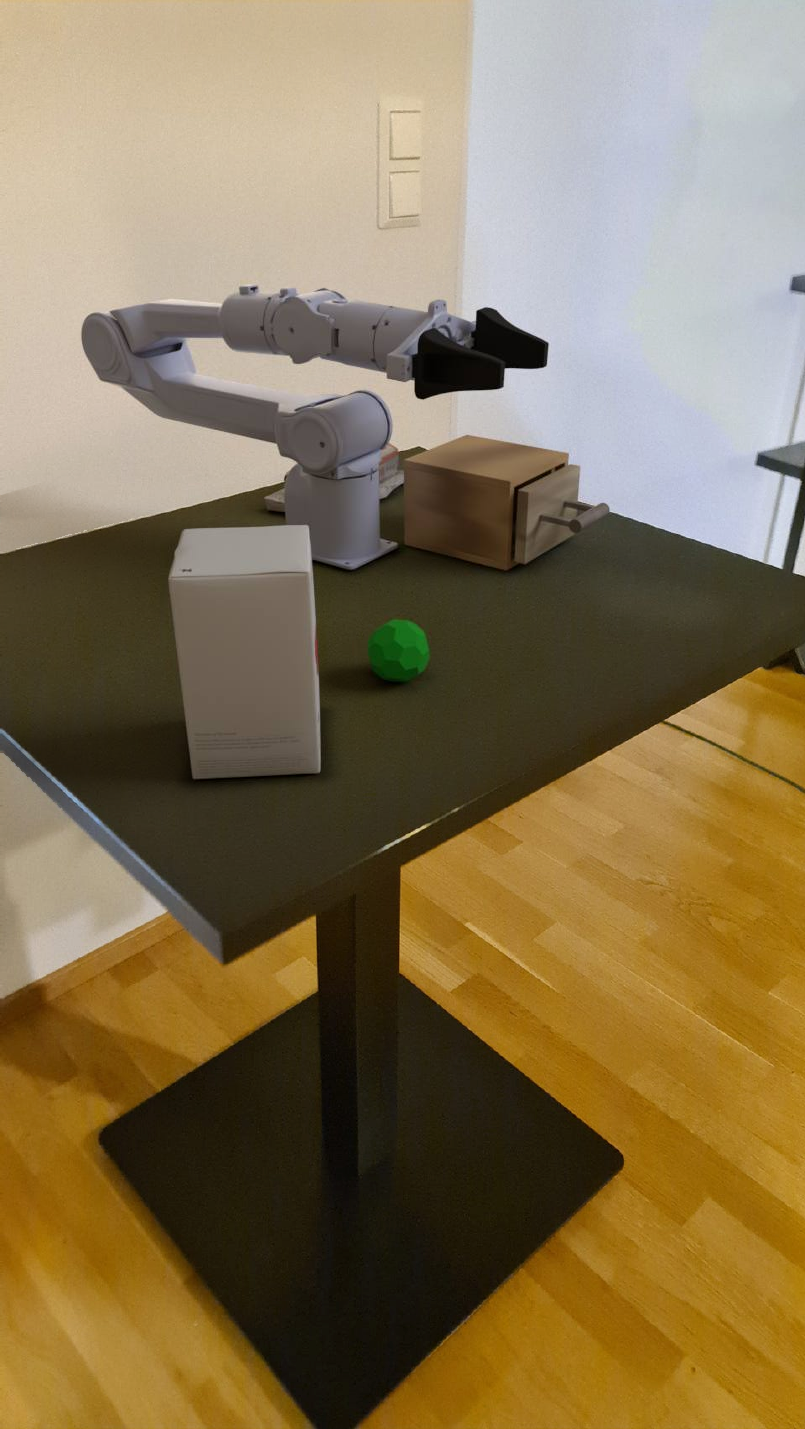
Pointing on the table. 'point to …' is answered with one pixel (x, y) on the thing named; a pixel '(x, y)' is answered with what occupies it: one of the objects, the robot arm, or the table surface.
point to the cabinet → (470, 496)
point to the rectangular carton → (247, 650)
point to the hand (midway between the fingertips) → (525, 365)
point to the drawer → (549, 512)
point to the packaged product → (387, 479)
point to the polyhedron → (398, 650)
